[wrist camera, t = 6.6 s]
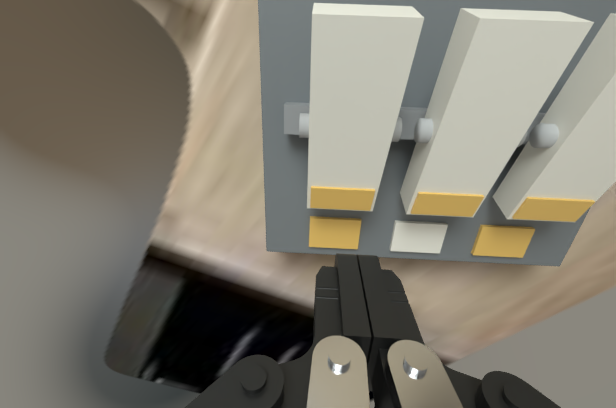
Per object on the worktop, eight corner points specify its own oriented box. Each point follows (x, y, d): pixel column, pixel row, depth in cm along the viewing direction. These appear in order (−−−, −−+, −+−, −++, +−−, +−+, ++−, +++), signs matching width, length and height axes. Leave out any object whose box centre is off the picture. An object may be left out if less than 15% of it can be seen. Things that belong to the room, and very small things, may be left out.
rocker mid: (448, 7, 11) (467, 18, 10) (572, 11, 11) (611, 23, 10) (392, 192, 18) (398, 215, 17) (469, 195, 18) (482, 219, 17)
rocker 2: (597, 12, 11) (641, 24, 10) (724, 17, 11) (788, 30, 10) (484, 196, 18) (499, 220, 17) (562, 200, 18) (584, 224, 17)
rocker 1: (301, 2, 11) (297, 14, 10) (424, 6, 11) (439, 19, 10) (300, 186, 19) (298, 209, 17) (376, 189, 18) (381, 213, 17)
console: (269, -30, 17) (249, -70, 12) (634, -18, 17) (764, -54, 12) (274, 224, 25) (263, 262, 20) (524, 237, 25) (574, 278, 20)
